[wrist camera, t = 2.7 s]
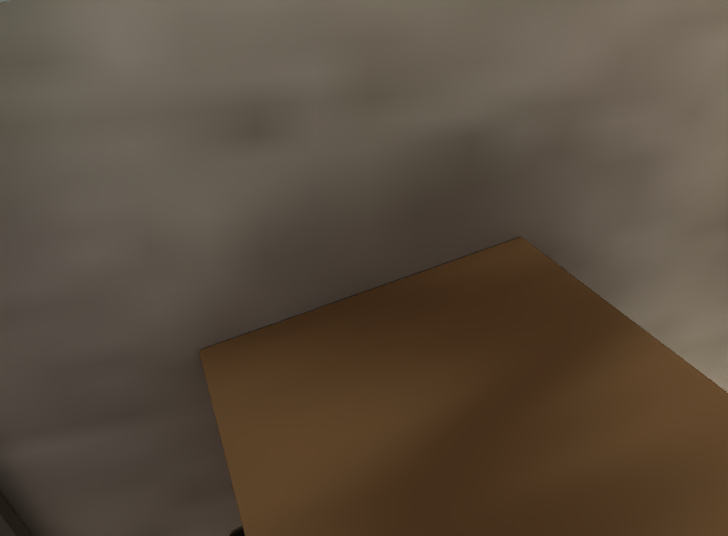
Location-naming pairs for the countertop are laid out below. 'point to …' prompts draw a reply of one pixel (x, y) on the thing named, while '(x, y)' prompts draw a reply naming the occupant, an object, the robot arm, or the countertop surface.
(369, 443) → the walnut cube
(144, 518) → the countertop surface
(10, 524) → the mat
